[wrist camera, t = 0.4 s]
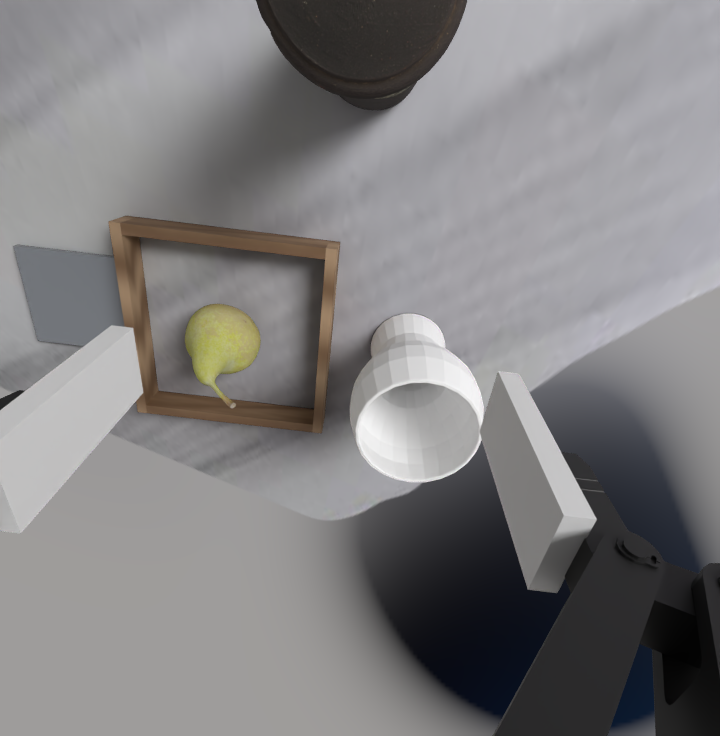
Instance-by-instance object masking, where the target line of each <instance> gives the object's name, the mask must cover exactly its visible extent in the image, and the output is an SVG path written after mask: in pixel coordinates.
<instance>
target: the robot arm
mask: <svg viewBox="0 0 720 736" xmlns="http://www.w3.org/2000/svg"><path fill="white" fill-rule="evenodd" d="M142 394H143V387H142V381H141V375H140V369H139V362H138V356H137V350H136V343H135V337H134V331H133V328H130V327H122V326H113V325H111V326H110V327H109V328H107V329H106V330H105V331H103V332H102V333H101V334H99V335H98V336H97V337H95V338H94V339H93V340H92V341H90V342H89V343H88V344H86V345H85V346H84V347H82V348H81V349H80V350H78V351H77V352H76V353H75V354H73V355H72V356H71V357H69V358H68V359H67V360H65V361H64V362H63V363H61V364H60V365H59V366H58V367H56V368H55V369H54V370H52V371H51V372H50V373H48V374H47V375H46V376H44V377H43V378H42V379H40V380H39V381H38V382H37V383H35V384H34V385H33V386H31V387H30V388H29V389H27V390H26V391H21V390H19V391H17V392H15V393H12V394H10V395H8V396H5V397H3V398H1V399H0V531H5V532H15V533H21V532H22V531H23V530H24V529H25V528H26V527H27V526H28V524H29V523H30V522H31V521H32V520H33V519H34V518H35V516H36V515H37V514H38V513H39V512H40V511H41V510H42V508H43V507H44V506H45V505H46V504H47V502H48V501H49V500H50V499H51V498H52V497H53V496H54V495H55V493H56V492H57V491H58V490H59V489H60V488H61V487H62V485H63V484H64V483H65V482H66V481H67V480H68V478H69V477H70V476H71V475H72V474H73V473H74V472H75V471H76V469H77V468H78V467H79V466H80V465H81V464H82V462H83V461H84V460H85V459H86V458H87V457H88V456H89V454H90V453H91V452H92V451H93V450H94V449H95V448H96V446H97V445H98V444H99V443H100V442H101V441H102V439H103V438H104V437H105V436H106V435H107V434H108V433H109V431H110V430H111V429H112V428H113V427H114V426H115V425H116V423H117V422H118V421H119V420H120V419H121V418H122V417H123V415H124V414H125V413H126V412H127V411H128V410H129V409H130V407H131V406H132V405H133V404H134V403H135V402H136V400H137V399H138V398H139V397H140V396H141V395H142ZM480 435H481V439H482V441H483V445H484V448H485V451H486V455H487V458H488V461H489V464H490V467H491V471H492V474H493V477H494V481H495V484H496V487H497V490H498V494H499V497H500V500H501V503H502V507H503V510H504V513H505V516H506V520H507V523H508V526H509V529H510V533H511V536H512V539H513V542H514V545H515V548H516V552H517V555H518V558H519V562H520V565H521V568H522V571H523V575H524V578H525V581H526V584H527V588H528V590H536V591H545V592H554V593H557V592H558V590H559V588H560V586H561V585H562V583H563V581H564V579H566V581H567V584H568V587H569V589H570V592H571V594H570V596H569V598H568V600H567V601H566V603H565V605H564V607H563V608H562V610H561V612H560V614H559V616H558V617H557V620H556V621H555V623H554V625H553V627H552V629H551V630H550V632H549V634H548V636H547V638H546V640H545V642H544V644H543V645H542V647H541V649H540V651H539V652H538V654H537V656H536V658H535V660H534V661H533V663H532V665H531V667H530V669H529V671H528V672H527V674H526V676H525V678H524V680H523V681H522V683H521V685H520V687H519V689H518V690H517V692H516V694H515V696H514V698H513V700H512V701H511V703H510V705H509V707H508V709H507V710H506V712H505V714H504V716H503V718H502V720H501V721H500V723H499V725H498V727H497V729H496V730H495V732H494V734H493V736H607V735H608V732H609V730H610V727H611V724H612V721H613V718H614V715H615V712H616V709H617V706H618V704H619V701H620V698H621V695H622V692H623V689H624V686H625V683H626V680H627V678H628V675H629V672H630V669H631V666H632V663H633V660H634V657H635V655H636V652H637V649H638V646H639V644H641V645H644V646H646V647H649V648H651V649H652V654H653V655H652V656H653V679H654V703H655V704H654V705H655V729H656V736H720V563H710V564H708V565H706V566H705V567H704V568H703V569H702V570H701V571H700V573H699V574H697V573H695V572H692V571H689V570H686V569H684V568H681V567H678V566H675V565H672V564H670V563H667V562H665V561H663V559H662V557H661V555H660V553H659V552H658V551H657V550H656V549H655V548H654V547H653V546H652V544H650V543H649V542H647V541H646V540H645V539H643V538H642V537H640V536H638V535H636V534H634V533H632V532H629V531H628V530H627V528H626V527H625V525H624V523H623V522H622V520H621V518H620V516H619V515H618V513H617V512H616V510H615V508H614V507H613V505H612V503H611V501H610V500H609V498H608V496H607V495H606V493H604V490H603V488H602V486H601V485H600V483H599V482H597V478H596V476H595V475H594V473H593V471H592V469H591V468H590V466H589V465H588V464H587V463H586V462H584V461H583V460H582V459H581V458H580V457H579V456H578V455H577V454H574V453H565V452H561V451H560V450H559V448H558V446H557V444H556V442H555V440H554V438H553V436H552V435H551V433H550V431H549V429H548V427H547V425H546V423H545V422H544V419H543V418H542V416H541V414H540V412H539V410H538V408H537V406H536V404H535V403H534V401H533V399H532V397H531V395H530V393H529V391H528V389H527V388H526V386H525V384H524V382H523V380H522V378H521V376H520V374H518V373H509V372H501V371H498V373H497V376H496V380H495V383H494V386H493V389H492V393H491V396H490V399H489V402H488V406H487V409H486V412H485V415H484V419H483V422H482V425H481V428H480Z"/></svg>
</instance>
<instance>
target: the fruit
mask: <svg viewBox="0 0 720 736" xmlns="http://www.w3.org/2000/svg"><path fill="white" fill-rule="evenodd" d="M185 344H186V348H187V351H188V353H189V355H190V356H191V358H192V365H193V369H194V373H195V375H196V377H197V378H198V380H199V381H200V382H201V383H202V384H204V385H207V386H210V387H211V388H212V389H213V390H214V391H215V392H216V393H217V394H218V395H219V397H220V398H221V399H222V400H223V401H224V402H225V403H226V404H227V405H228V406H229V407H230V408H234V407H236V404H235V403H234V402H232V401H231V400H230V399H228V397H226V396H225V395H224V394H223V393H222V392H221V391H220V390H219V388H218V387H217V385H216V384H215V379H216V377H217V376H218V375H219V374H231V373H236V372H239V371H241V370H244V369H245V368H247V367H248V366H250V365H251V363H252V362H253V361H254V359H255V358H256V356H257V353H258V351H259V347H260V334H259V331H258V329H257V327H256V325H255V323H254V322H253V320H252V319H251V318H250V317H249V316H248V315H247V314H245V313H244V312H242V311H241V310H239V309H237V308H235V307H232V306H228V305H224V304H210V305H207V306H204V307H202V308H201V309H199V310H198V311H197V312H196V313H195V314H194V315H193V316H192V317H191V319H190V321H189V323H188V325H187V328H186V333H185Z"/></svg>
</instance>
